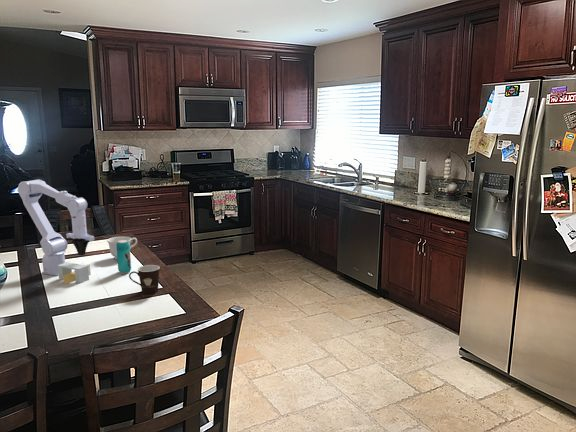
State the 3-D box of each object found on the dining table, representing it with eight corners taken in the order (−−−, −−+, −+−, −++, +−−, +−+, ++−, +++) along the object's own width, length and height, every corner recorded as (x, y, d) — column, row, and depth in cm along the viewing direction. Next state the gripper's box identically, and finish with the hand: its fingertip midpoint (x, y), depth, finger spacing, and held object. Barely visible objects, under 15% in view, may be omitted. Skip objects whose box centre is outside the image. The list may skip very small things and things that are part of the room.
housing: (58, 279, 209) (57, 265, 207) (68, 275, 213) (66, 262, 212) (80, 283, 204) (78, 268, 203) (89, 279, 208) (87, 265, 207)
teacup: (141, 258, 240) (140, 239, 238) (111, 263, 232) (110, 243, 230) (134, 252, 250) (133, 234, 248) (105, 257, 242) (104, 238, 240)
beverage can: (127, 274, 215) (125, 243, 212) (115, 273, 217) (113, 242, 213) (133, 270, 221) (131, 239, 218) (122, 269, 222) (120, 239, 219)
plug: (62, 281, 205) (61, 271, 204) (83, 273, 216) (82, 263, 215) (70, 283, 204) (69, 272, 203) (90, 274, 215) (89, 264, 214)
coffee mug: (164, 289, 198) (163, 266, 196) (152, 296, 190) (151, 272, 188) (141, 285, 202) (140, 263, 199) (128, 292, 194) (127, 269, 192)
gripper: (59, 225, 208) (62, 255, 211) (84, 228, 202) (87, 259, 205) (72, 222, 214) (75, 251, 217) (97, 225, 209) (99, 254, 211)
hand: (81, 254), depth 211 cm, fingers closed
